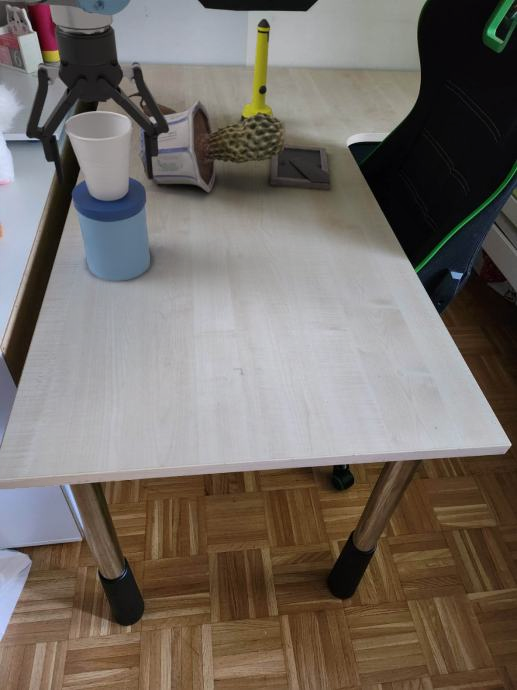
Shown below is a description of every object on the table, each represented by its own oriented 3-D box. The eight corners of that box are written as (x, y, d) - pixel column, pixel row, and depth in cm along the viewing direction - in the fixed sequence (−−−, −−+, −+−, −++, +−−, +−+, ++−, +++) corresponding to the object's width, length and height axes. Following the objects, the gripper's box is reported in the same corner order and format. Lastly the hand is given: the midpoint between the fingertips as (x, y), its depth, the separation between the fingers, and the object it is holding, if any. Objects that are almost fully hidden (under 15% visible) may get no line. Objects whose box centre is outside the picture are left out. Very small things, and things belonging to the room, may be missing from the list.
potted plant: (122, 130, 99) (277, 106, 94) (144, 99, 112) (281, 76, 107) (150, 212, 110) (290, 195, 105) (167, 176, 123) (291, 158, 119)
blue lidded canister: (87, 285, 89) (72, 214, 79) (85, 246, 96) (71, 176, 86) (155, 278, 91) (149, 208, 81) (148, 241, 99) (141, 172, 89)
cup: (112, 215, 79) (101, 146, 71) (63, 195, 82) (48, 126, 74) (152, 189, 85) (147, 122, 77) (106, 171, 88) (96, 105, 80)
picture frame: (328, 190, 117) (324, 154, 130) (330, 182, 116) (326, 146, 128) (270, 185, 117) (272, 149, 130) (271, 177, 116) (272, 141, 128)
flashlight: (238, 14, 122) (256, 25, 117) (271, 12, 125) (290, 23, 120) (234, 120, 140) (249, 134, 135) (263, 116, 143) (279, 129, 138)
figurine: (127, 130, 131) (123, 94, 125) (128, 122, 134) (124, 87, 128) (182, 132, 133) (181, 97, 127) (182, 124, 136) (181, 90, 130)
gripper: (176, 17, 72) (181, 162, 87) (-18, 15, 66) (24, 170, 81) (184, 34, 67) (188, 184, 82) (-25, 33, 61) (21, 194, 77)
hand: (106, 177), depth 82 cm, fingers open, 13 cm apart
